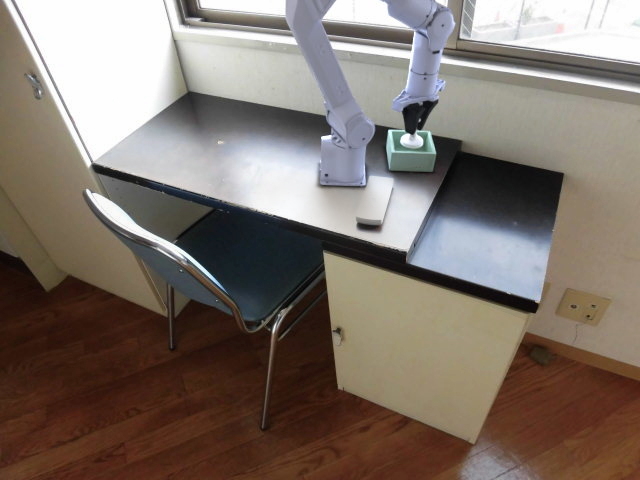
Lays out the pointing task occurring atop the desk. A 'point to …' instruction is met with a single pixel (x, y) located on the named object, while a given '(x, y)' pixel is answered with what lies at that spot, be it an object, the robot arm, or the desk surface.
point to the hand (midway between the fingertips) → (413, 130)
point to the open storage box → (410, 153)
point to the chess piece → (412, 139)
